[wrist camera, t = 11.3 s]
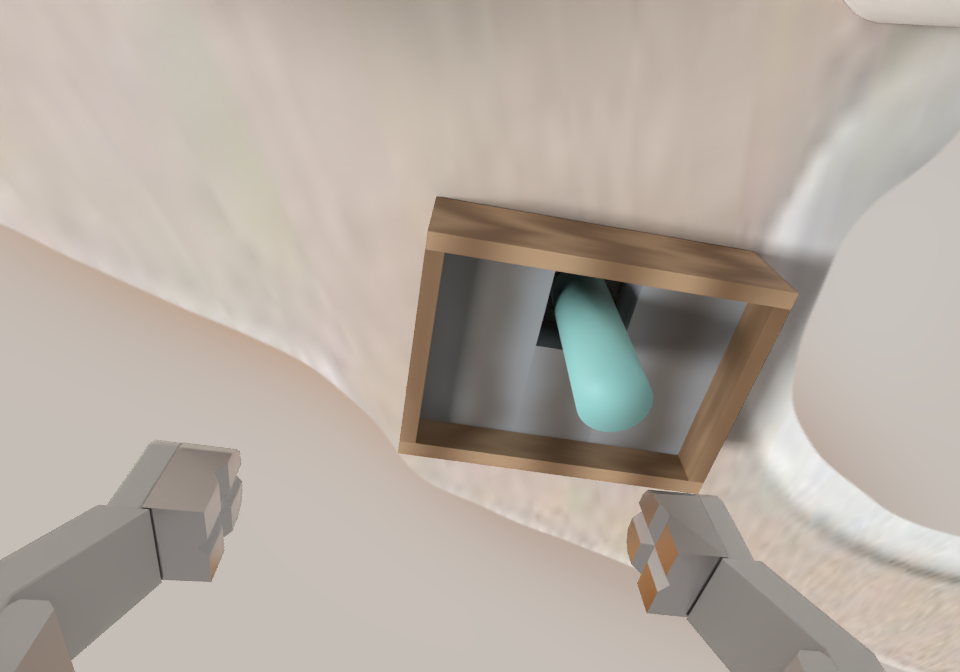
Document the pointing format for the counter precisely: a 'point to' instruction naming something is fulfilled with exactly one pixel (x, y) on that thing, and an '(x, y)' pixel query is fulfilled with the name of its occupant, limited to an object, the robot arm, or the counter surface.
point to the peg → (599, 355)
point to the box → (540, 358)
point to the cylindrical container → (908, 11)
